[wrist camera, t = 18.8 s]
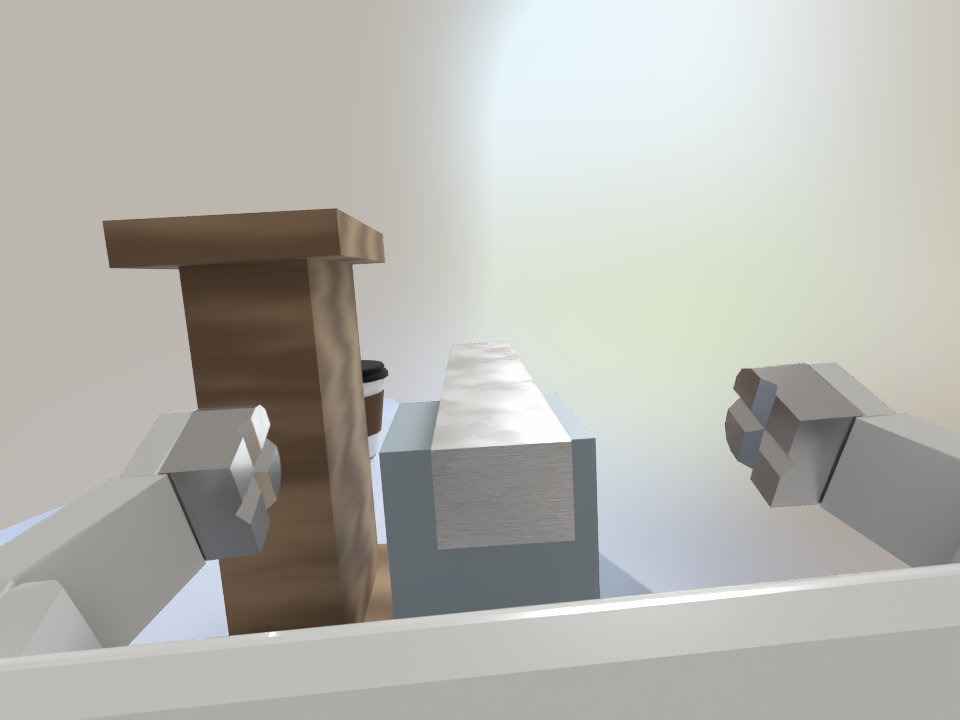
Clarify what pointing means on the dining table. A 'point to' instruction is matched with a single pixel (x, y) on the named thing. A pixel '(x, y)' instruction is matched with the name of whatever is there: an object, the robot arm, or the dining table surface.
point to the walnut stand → (283, 397)
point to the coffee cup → (373, 400)
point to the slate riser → (490, 569)
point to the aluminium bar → (498, 455)
